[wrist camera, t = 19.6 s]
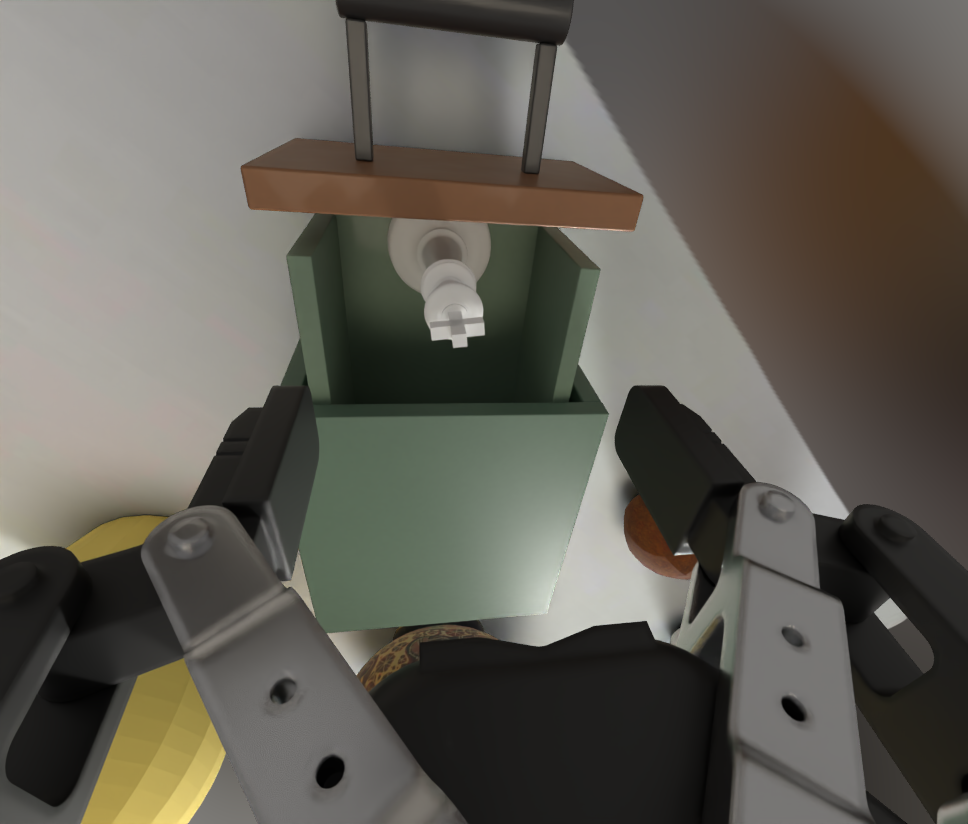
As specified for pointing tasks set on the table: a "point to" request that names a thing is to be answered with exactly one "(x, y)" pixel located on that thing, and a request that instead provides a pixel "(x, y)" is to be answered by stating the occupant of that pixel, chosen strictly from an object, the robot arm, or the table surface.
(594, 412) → the cabinet
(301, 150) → the drawer
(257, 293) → the table surface
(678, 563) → the potato
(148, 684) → the vase
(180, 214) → the table surface
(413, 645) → the ceramic bowl
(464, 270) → the chess piece
